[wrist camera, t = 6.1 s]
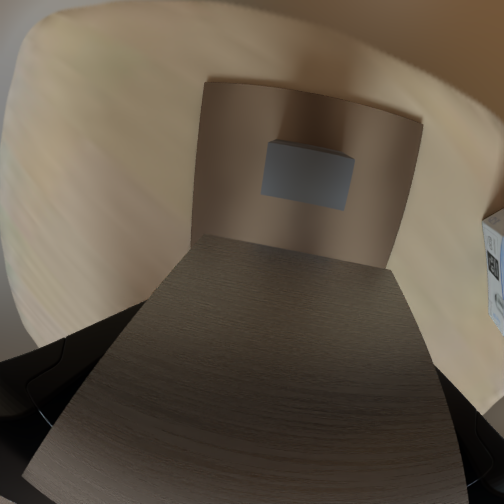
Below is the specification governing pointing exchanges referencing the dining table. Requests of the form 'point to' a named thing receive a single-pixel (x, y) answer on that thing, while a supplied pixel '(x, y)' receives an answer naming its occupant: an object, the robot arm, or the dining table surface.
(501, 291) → the light bulb box
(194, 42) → the dining table surface
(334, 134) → the base
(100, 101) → the dining table surface
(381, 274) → the steel slab
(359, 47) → the dining table surface
